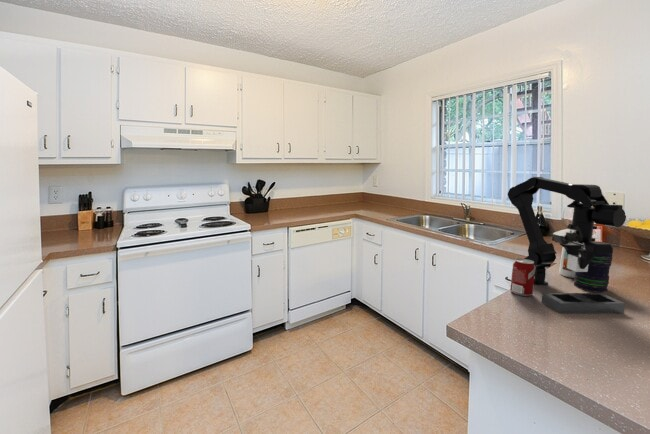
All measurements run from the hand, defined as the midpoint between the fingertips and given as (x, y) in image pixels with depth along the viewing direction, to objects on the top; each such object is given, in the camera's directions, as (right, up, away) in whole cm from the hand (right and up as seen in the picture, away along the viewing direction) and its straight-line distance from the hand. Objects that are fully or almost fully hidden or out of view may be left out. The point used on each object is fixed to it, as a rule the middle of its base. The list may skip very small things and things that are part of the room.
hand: (577, 266), depth 108 cm
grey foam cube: (0, -1, 0) cm, 1 cm away
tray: (-5, -12, -8) cm, 15 cm away
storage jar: (+13, -9, +10) cm, 19 cm away
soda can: (-17, -10, +3) cm, 20 cm away
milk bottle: (+16, -7, +23) cm, 29 cm away
